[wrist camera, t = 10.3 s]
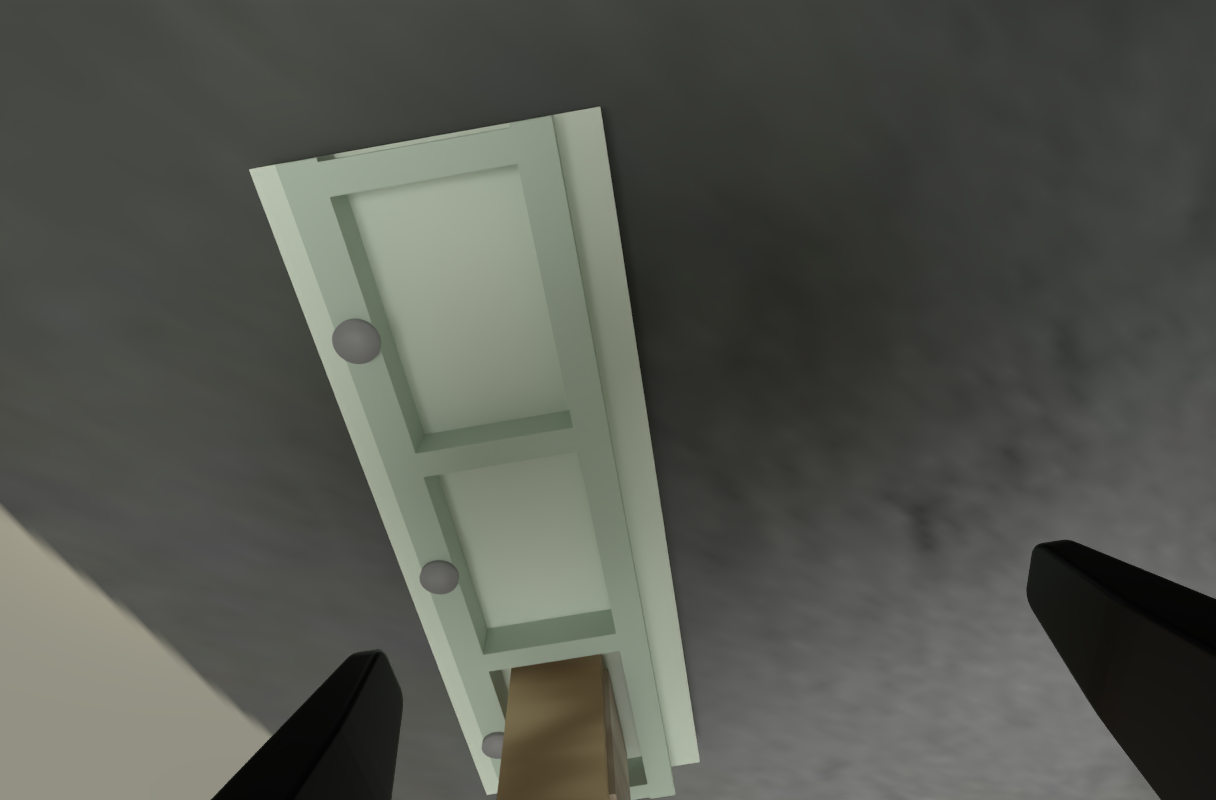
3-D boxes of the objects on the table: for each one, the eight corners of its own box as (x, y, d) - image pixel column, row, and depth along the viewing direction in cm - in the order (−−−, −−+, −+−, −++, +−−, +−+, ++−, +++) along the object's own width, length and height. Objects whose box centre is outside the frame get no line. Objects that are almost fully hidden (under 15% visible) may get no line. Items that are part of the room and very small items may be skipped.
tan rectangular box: (603, 639, 23) (613, 802, 18) (627, 748, 26) (642, 919, 20) (512, 654, 23) (494, 820, 18) (545, 760, 26) (537, 935, 20)
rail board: (598, 106, 17) (602, 106, 15) (694, 736, 27) (706, 795, 25) (269, 165, 17) (221, 175, 15) (490, 767, 28) (482, 829, 25)
